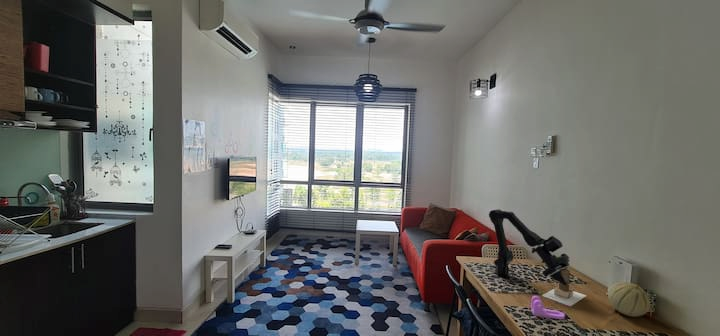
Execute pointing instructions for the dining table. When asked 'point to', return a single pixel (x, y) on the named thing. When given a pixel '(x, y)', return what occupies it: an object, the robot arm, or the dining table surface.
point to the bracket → (540, 311)
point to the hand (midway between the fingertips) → (568, 284)
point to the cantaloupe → (629, 299)
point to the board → (569, 301)
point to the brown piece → (562, 289)
